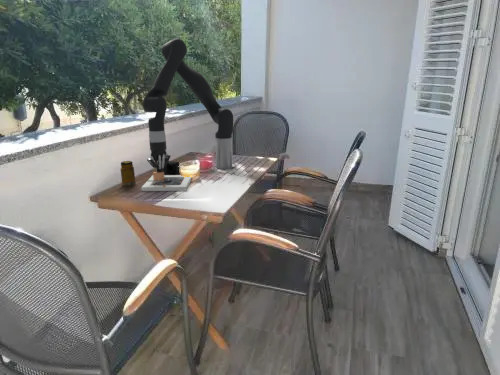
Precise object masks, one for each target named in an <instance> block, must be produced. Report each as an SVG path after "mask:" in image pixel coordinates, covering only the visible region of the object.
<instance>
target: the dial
mask: <svg viewBox="0 0 500 375" xmlns="http://www.w3.org/2000/svg"><path fill="white" fill-rule="evenodd" d="M152 175H153V180H154V181H156V183H155V184H156V185H181V180H179V179H176V178H164V175H165V174H164V172H157V171H153V172H152Z"/></svg>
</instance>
